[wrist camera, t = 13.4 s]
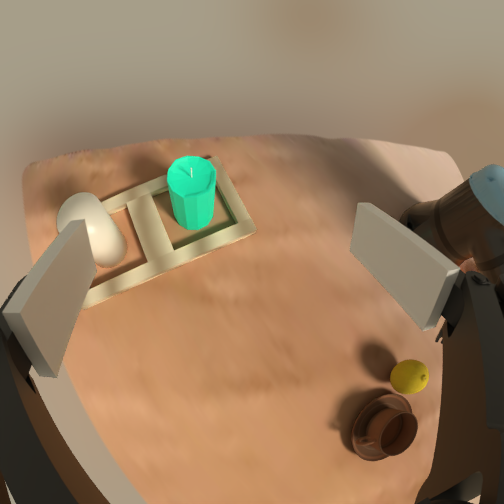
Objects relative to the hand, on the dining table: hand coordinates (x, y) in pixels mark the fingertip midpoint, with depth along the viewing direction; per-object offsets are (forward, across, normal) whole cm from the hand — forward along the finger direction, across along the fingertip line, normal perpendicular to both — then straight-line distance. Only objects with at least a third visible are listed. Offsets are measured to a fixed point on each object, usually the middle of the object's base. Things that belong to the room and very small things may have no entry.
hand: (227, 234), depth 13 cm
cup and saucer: (+3, +24, -37) cm, 44 cm away
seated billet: (+26, -15, -13) cm, 33 cm away
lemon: (+8, +27, -31) cm, 42 cm away
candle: (+30, -2, -10) cm, 31 cm away
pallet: (+28, -8, -11) cm, 31 cm away
